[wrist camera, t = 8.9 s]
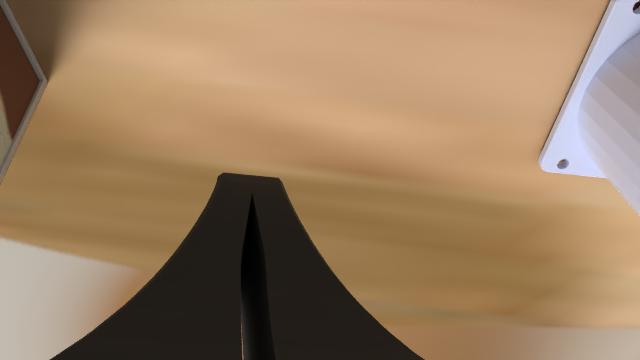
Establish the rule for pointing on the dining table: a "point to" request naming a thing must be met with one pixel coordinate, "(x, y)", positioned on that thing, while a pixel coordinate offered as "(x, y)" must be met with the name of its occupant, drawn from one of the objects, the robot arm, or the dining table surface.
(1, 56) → the food container
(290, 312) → the robot arm
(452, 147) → the dining table surface
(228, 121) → the dining table surface
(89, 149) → the dining table surface
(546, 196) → the dining table surface
